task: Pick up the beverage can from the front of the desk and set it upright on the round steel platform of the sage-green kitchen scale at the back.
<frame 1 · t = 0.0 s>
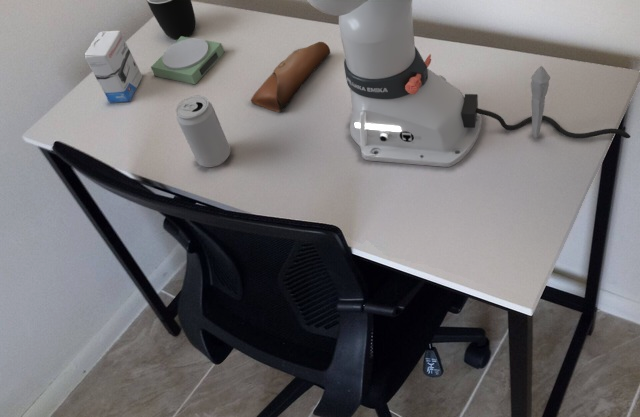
scale: (189, 64, 137), on the table
beverage can: (214, 157, 116), on the table
pen: (536, 137, 105), on the table
sunglasses case: (291, 81, 127), on the table
ink box: (127, 90, 136), on the table
mug: (178, 30, 147), on the table
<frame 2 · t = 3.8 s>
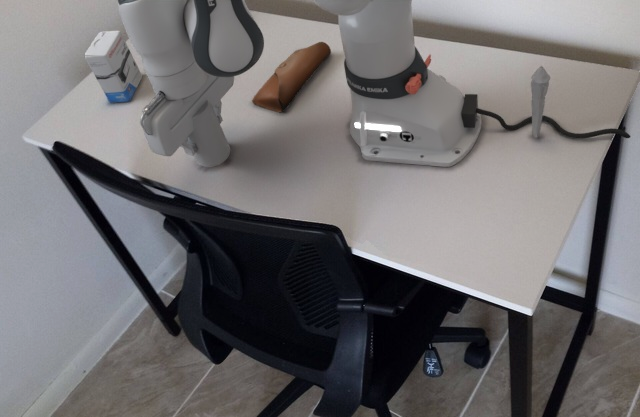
hand: (205, 137, 113), 5 cm above the table, tool pointing down, fingers closed on beverage can, 6 cm apart
beverage can: (214, 157, 116), on the table, touching gripper
everything else where it was.
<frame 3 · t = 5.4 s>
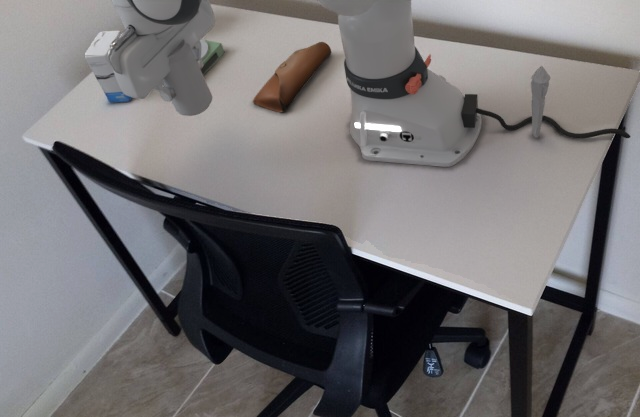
hand: (184, 83, 104), 17 cm above the table, tool pointing down, fingers closed on beverage can, 6 cm apart
beverage can: (196, 106, 107), point 12 cm above the table, touching gripper
everything else where it was.
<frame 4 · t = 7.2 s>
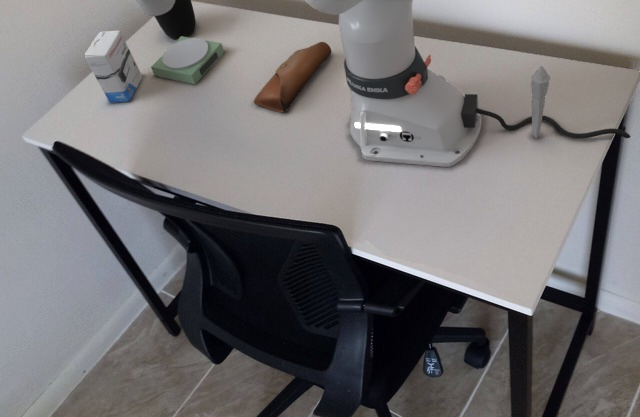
beverage can: (159, 9, 115), point 20 cm above the table, touching gripper
everything else where it was.
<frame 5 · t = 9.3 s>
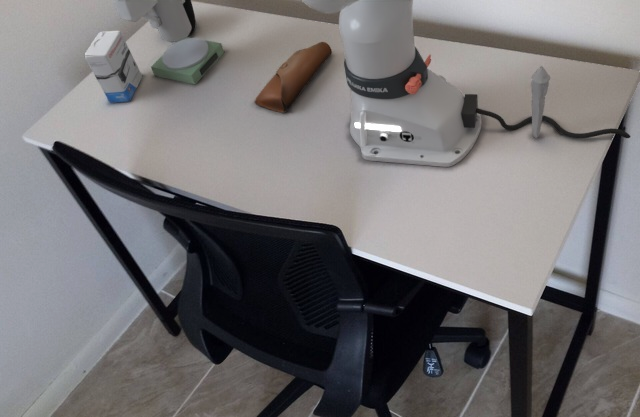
hand: (169, 14, 128), 12 cm above the table, tool pointing down, fingers closed on beverage can, 6 cm apart
beverage can: (178, 35, 132), point 7 cm above the table, touching gripper
everything else where it was.
when the fingers open (8 cm above the table, at t = 11.1 s): beverage can stays where it is, resting on scale.
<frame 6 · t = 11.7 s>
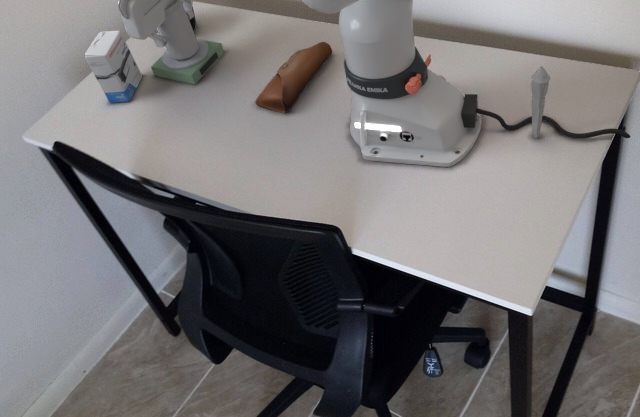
hand: (176, 31, 131), 8 cm above the table, tool pointing down, fingers open, 8 cm apart
beverage can: (185, 53, 135), point 3 cm above the table, touching scale
everything else where it was.
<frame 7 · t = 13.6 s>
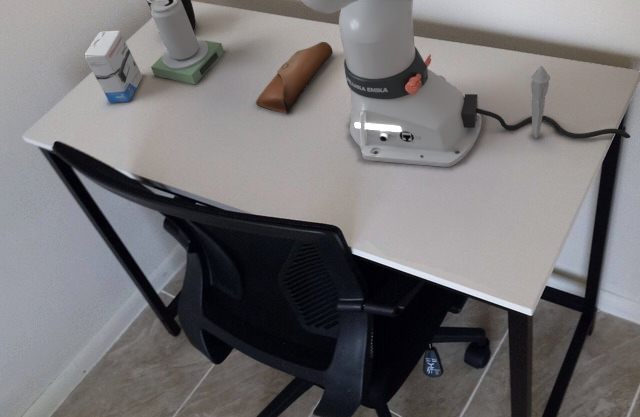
nothing on the table moved.
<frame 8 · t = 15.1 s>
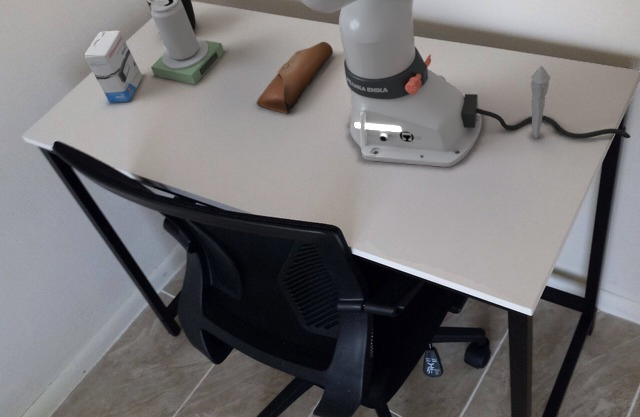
at the end: beverage can inside the target area on the scale (0.1 cm from its centre), point 2.8 cm above the scale's base; beverage can tilted 0°; the gripper is holding nothing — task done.
